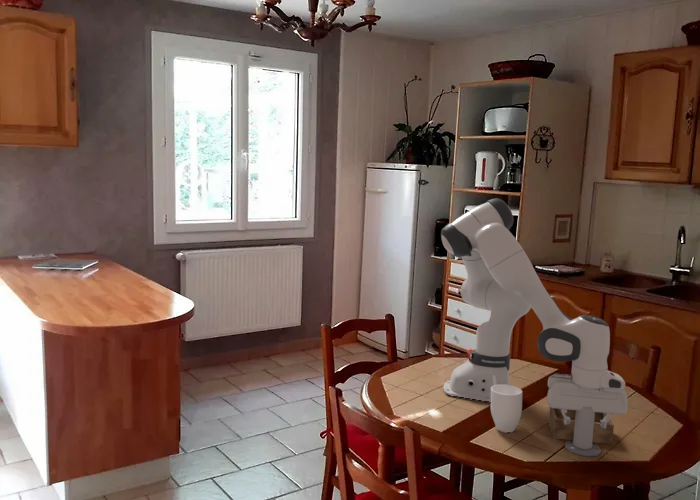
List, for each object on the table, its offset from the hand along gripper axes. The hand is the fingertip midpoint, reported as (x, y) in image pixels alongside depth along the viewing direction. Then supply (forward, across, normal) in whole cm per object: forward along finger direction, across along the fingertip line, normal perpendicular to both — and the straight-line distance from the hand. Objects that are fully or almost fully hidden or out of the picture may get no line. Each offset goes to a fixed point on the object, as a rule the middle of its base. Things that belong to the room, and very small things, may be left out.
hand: (584, 425), depth 169 cm
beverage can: (+6, 0, 0) cm, 6 cm away
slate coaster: (+7, 0, 0) cm, 7 cm away
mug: (+7, -20, +10) cm, 23 cm away
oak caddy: (+7, +1, +11) cm, 13 cm away
